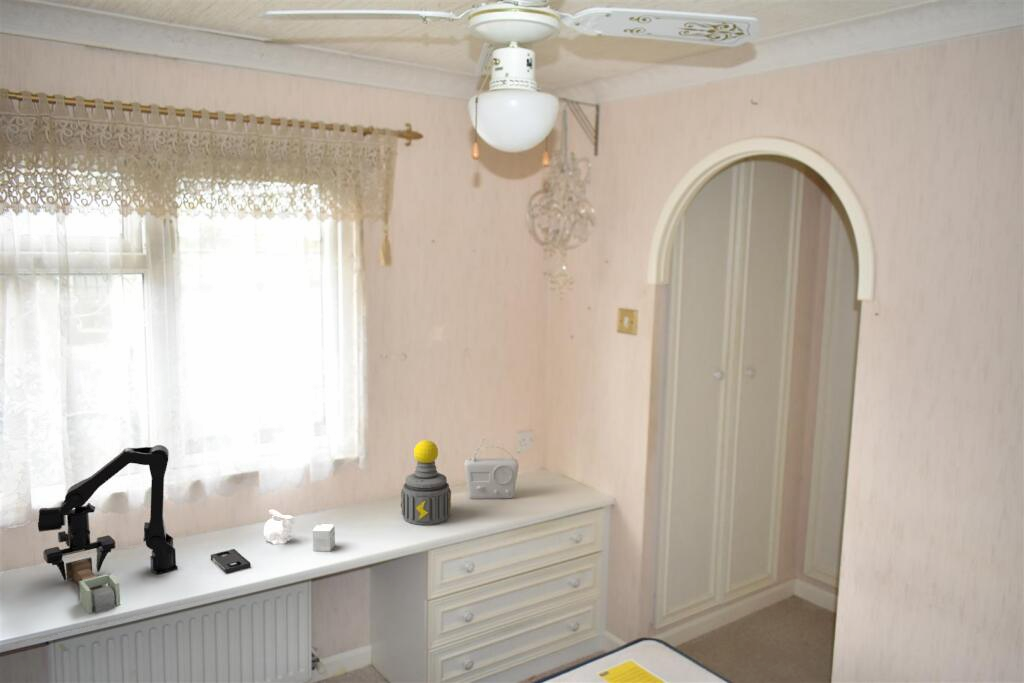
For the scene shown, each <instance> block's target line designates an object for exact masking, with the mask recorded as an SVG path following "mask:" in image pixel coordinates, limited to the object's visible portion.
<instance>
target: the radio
mask: <svg viewBox="0 0 1024 683" xmlns="http://www.w3.org/2000/svg"><path fill="white" fill-rule="evenodd" d="M484 440H485V438H481V441H480V443H479V445H478V446H477V448H476V450H475V451H474V452H473V453H472V454H471V455H470V457H469V458H466V459H465V460H464V472H465V478H466V484H467V491H468V492H467V493H468V498H469V499H470V500H487V499H488V500H495V499H499V500H500V499H501V500H502V499H503V500H504V499H509V500H510V499H512V498H514V496H515V489H516V484H517V477H518V472H519V466H520V465H519V463H518V459H516V458H514V457H513V455H512V454H510V452H508V451H507V450H506V449H505V448H502V447H499V446H494V445H491V446H484V447H482V448H480V447H481V446H482V444H483V442H484ZM486 448H487V449H489V448H496V449H500V450H502V451H504V452H506V453H507V454H509V455H510V456H511V457H507V458H506V457H505V458H504V457H503V458H499V457H496V458H488V457H487V458H476V457H475V456H476V454H477V452H478V451H481V450H483V449H486Z"/></svg>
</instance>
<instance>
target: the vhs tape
mask: <svg viewBox="0 0 1024 683" xmlns="http://www.w3.org/2000/svg"><path fill="white" fill-rule="evenodd" d="M210 561H211V562H213V564H215V565H216V566H217V567H218V568H219V569H220V570H221V571H222V572H224V574H226V575H227V574H232V573H234V572H239V571H243V570H247V569H250V568H251V567H252V564H251V562H250V561H249V560H248V559H247V558H246V557H244V556H243V555H242V554H240V552H238V550H236V549H235V548H233V549H228V550H225V551H220V552H216V553H212V554H210Z"/></svg>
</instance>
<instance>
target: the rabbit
mask: <svg viewBox="0 0 1024 683" xmlns="http://www.w3.org/2000/svg"><path fill="white" fill-rule="evenodd" d="M268 514H270V515H272V516H271V518H270V519H268V520H267V521H266V522H265V524H264V528H263V534H264V538H265V540H266V542H268V543H271V544H273V545H277V544H278V545H279V544H280V545H284V544H287V542H289V541H291V537H290V536H289V535H291V533H292V530H293V528H292V526H294V525H295V524H296V521H295V517H294V516H292V515H290V514H289V515H288V514H286V515H283V514H282V513H280V512H279V511H277V510H275V509H270V510H269V511H268Z"/></svg>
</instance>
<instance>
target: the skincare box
mask: <svg viewBox="0 0 1024 683" xmlns="http://www.w3.org/2000/svg"><path fill="white" fill-rule="evenodd" d="M335 528H336V527H335V524H323V523H322V524H320V523H319V524H317V525H316V526H314V528H313V530H312V551H313V552H331V551H332V549H333V548H334V547H335V545H336V531H335Z"/></svg>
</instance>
